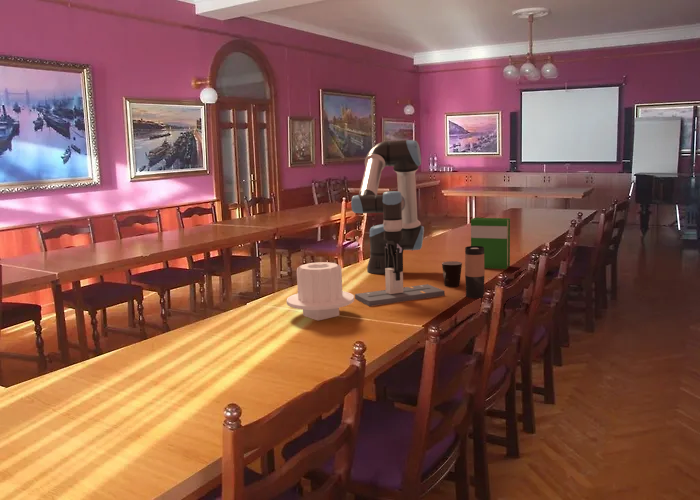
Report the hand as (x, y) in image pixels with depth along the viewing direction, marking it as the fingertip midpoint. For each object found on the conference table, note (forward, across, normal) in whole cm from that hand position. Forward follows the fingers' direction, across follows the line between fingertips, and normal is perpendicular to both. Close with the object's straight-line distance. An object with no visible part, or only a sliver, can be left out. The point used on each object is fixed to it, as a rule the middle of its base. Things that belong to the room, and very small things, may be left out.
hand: (394, 286), depth 253 cm
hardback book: (+5, -32, +69) cm, 77 cm away
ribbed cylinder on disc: (+5, +10, -36) cm, 37 cm away
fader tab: (+2, 0, 0) cm, 2 cm away
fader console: (+5, 0, +2) cm, 5 cm away
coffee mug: (+5, -8, +32) cm, 34 cm away
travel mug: (+5, +14, +29) cm, 33 cm away
